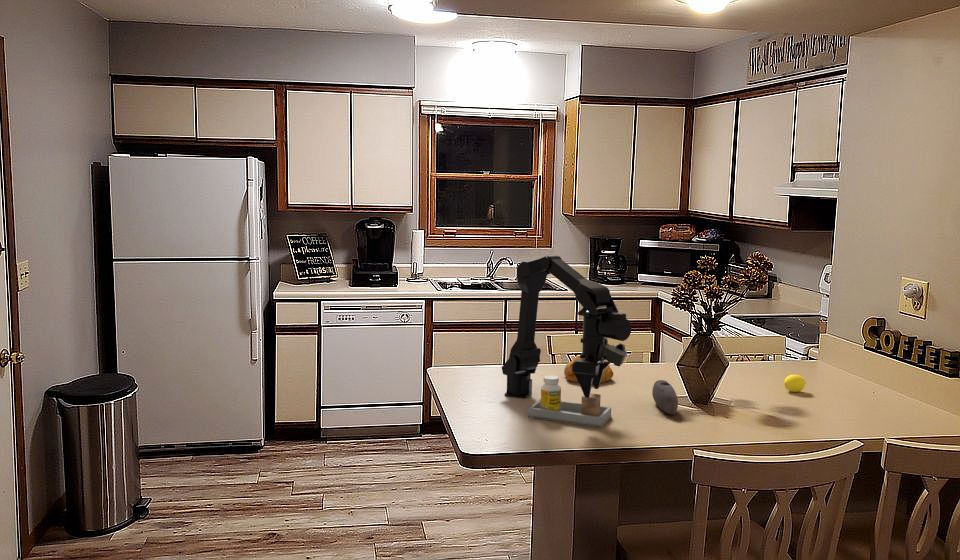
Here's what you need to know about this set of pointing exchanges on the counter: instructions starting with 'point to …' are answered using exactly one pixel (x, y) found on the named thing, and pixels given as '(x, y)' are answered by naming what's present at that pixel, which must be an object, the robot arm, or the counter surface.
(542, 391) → the supplement bottle
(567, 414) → the tray
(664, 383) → the perforated stone tool
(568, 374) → the croissant
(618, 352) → the robot arm
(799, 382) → the lemon
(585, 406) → the block
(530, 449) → the counter surface
